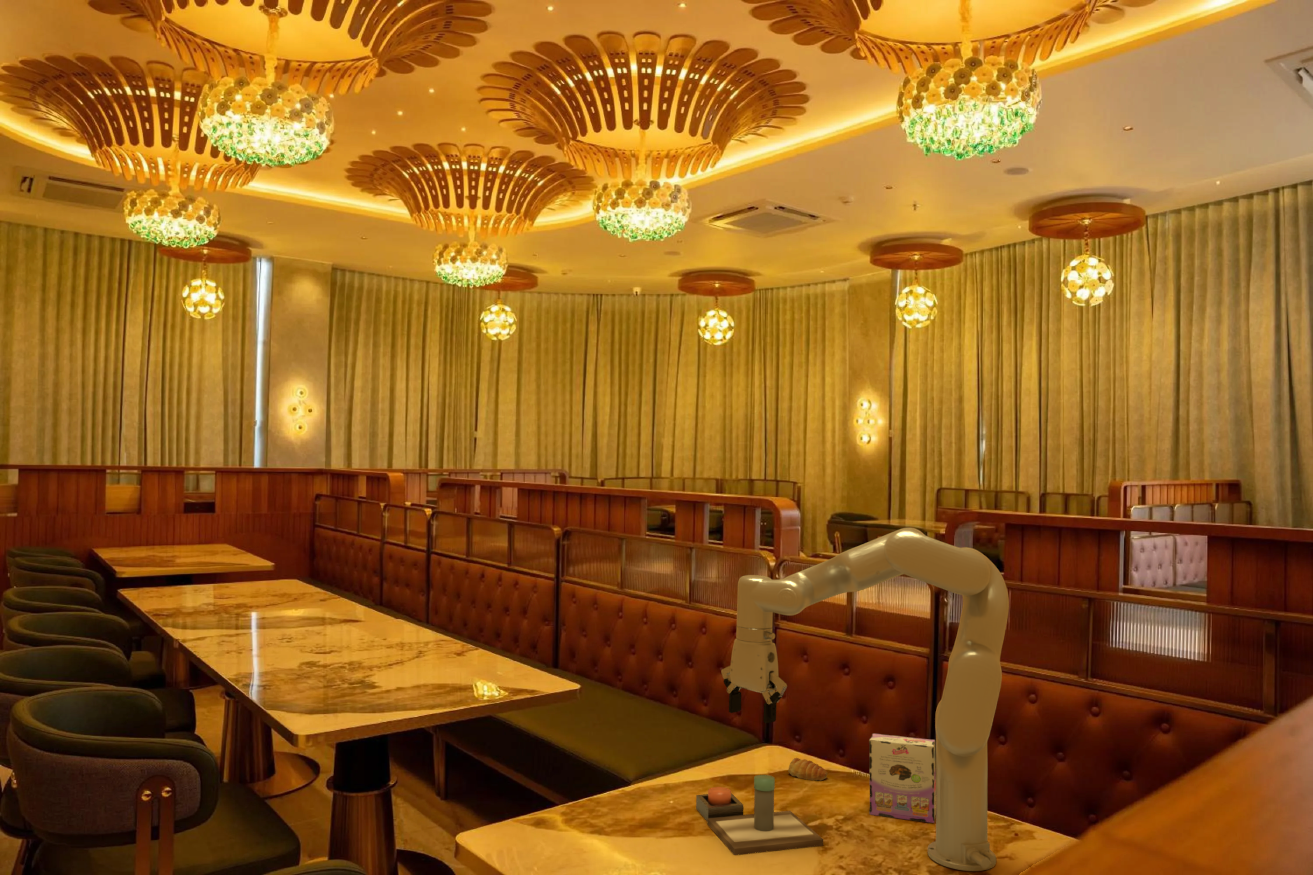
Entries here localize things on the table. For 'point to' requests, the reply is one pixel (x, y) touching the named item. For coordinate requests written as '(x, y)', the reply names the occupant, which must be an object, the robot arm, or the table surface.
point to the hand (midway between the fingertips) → (751, 716)
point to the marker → (764, 802)
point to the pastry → (806, 770)
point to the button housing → (718, 807)
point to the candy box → (902, 777)
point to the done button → (719, 796)
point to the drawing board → (764, 833)
